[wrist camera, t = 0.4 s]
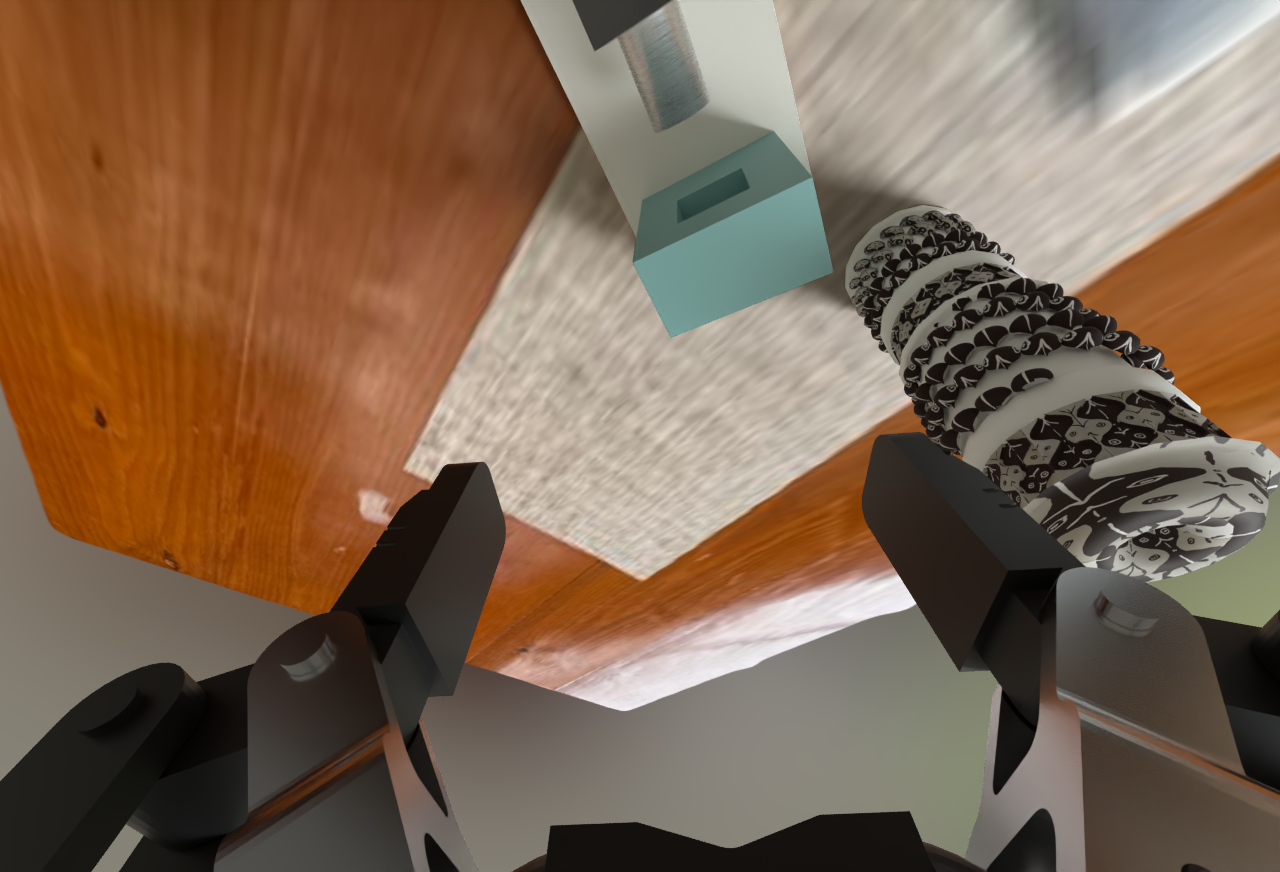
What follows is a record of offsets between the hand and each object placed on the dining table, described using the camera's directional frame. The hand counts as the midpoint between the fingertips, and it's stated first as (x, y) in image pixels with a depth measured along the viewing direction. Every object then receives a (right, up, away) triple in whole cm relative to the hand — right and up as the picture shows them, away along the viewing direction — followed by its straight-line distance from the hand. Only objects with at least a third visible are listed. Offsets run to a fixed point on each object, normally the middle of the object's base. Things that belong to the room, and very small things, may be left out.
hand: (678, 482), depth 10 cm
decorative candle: (+19, +14, +25) cm, 34 cm away
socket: (+4, +17, +21) cm, 27 cm away
